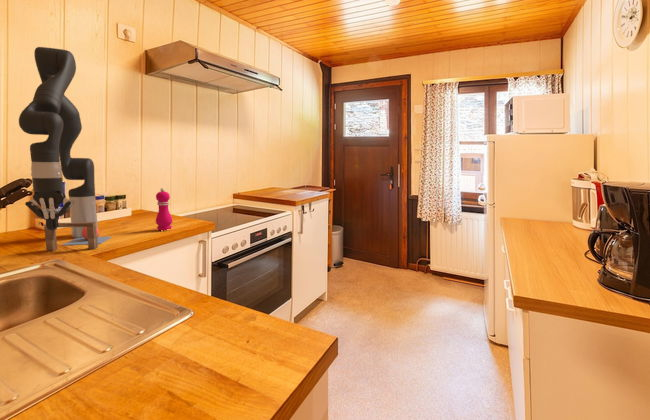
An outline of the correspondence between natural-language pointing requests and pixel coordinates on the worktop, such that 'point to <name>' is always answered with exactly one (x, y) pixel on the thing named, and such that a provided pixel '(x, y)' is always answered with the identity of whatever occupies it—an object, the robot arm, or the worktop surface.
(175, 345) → the worktop surface
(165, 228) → the pepper mill
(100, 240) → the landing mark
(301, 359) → the worktop surface
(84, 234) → the ball
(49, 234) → the bridge
